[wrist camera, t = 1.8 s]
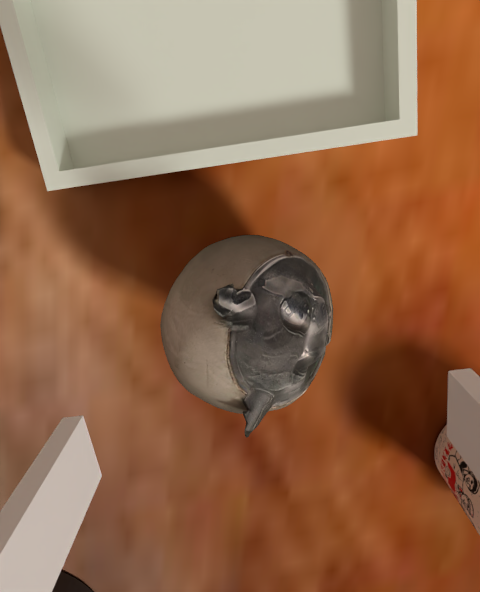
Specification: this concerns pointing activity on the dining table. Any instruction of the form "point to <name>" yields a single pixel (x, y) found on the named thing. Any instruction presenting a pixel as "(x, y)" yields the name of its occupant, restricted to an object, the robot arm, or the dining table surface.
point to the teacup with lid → (458, 477)
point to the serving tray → (206, 81)
